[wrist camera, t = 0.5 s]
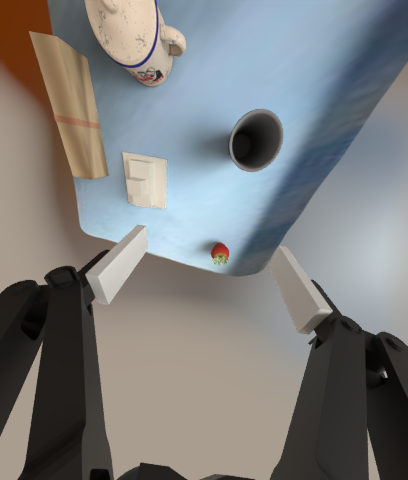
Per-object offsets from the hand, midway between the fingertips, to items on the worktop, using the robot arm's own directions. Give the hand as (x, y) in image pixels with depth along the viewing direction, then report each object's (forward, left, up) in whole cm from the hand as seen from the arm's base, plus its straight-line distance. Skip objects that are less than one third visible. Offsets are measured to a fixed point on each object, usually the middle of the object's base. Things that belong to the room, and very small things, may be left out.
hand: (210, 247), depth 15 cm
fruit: (+16, +5, -26) cm, 31 cm away
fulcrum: (+1, -17, -26) cm, 31 cm away
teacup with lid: (-21, -14, -26) cm, 36 cm away
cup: (-10, +4, -26) cm, 28 cm away
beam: (-9, -29, -26) cm, 40 cm away
